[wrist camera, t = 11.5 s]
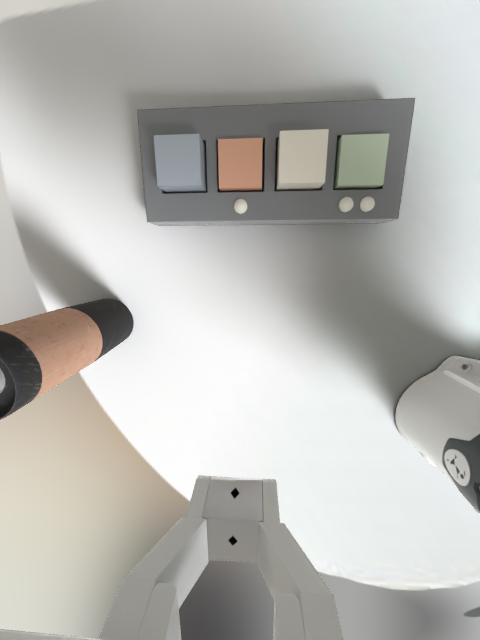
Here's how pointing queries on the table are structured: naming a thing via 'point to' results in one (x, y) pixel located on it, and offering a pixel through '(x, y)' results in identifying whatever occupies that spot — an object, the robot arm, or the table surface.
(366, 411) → the table surface
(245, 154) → the terracotta key
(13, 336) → the travel mug
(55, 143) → the table surface
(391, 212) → the keypad
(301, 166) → the cream key
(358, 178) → the sage key
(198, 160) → the slate key
